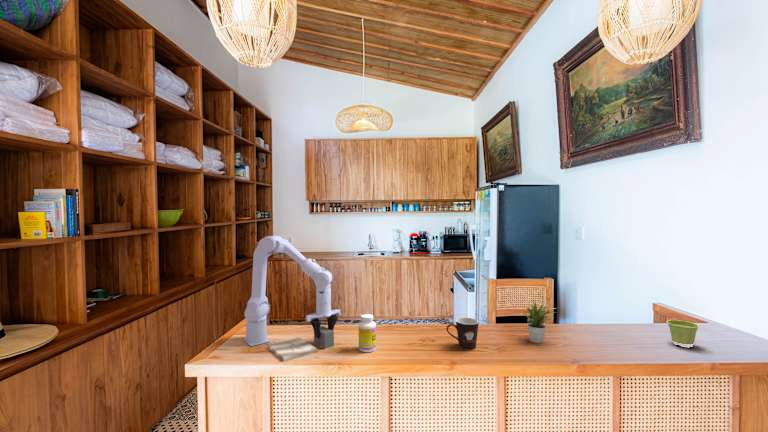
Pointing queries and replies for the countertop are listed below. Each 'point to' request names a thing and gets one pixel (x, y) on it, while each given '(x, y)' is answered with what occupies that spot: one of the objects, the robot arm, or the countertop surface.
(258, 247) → the robot arm
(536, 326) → the house plant
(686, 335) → the plant pot
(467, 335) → the coffee mug
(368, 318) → the supplement bottle
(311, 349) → the ash board
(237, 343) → the countertop surface
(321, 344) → the block
